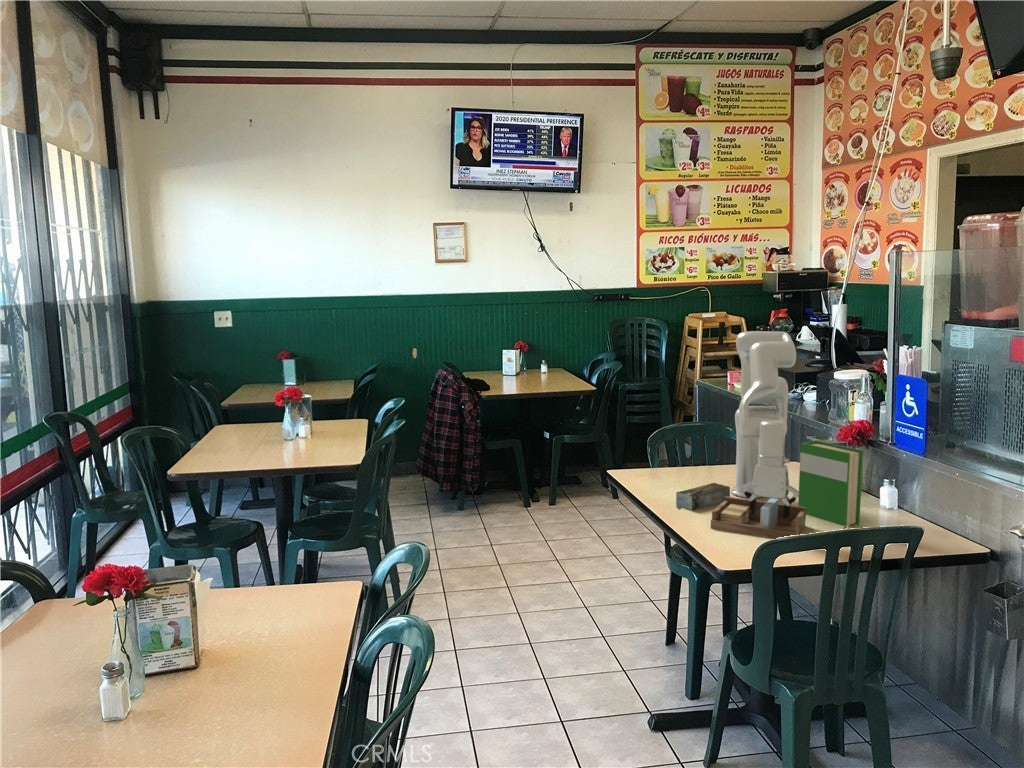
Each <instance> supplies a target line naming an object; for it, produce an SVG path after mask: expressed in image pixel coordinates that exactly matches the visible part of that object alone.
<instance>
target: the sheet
mask: <svg viewBox="0 0 1024 768" xmlns="http://www.w3.org/2000/svg"><path fill="white" fill-rule="evenodd" d="M765 502H766V503H765V504H764V505H763V506H762V507H761V517H760V527H767V528H774V527H775V526H776V525H777V521H778V503H779V499H774V498H769V499H768V500H767V501H765Z"/></svg>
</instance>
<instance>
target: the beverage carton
mask: <svg viewBox="0 0 1024 768" xmlns="http://www.w3.org/2000/svg"><path fill="white" fill-rule="evenodd" d="M675 495H676V498H675V507H676V509H677V508H678V509H677V510H682V509H683V508H684V509H686V510H689V511H695V510H701V509H703V508H704V509H705V508H708V507H709V508H710V507H712V506H716V505H717V506H718V505H720V504H721V503H722V502H723V501H725V497H726V496H727V497H731V487H730V486H727V485H724V484H720V483H716V482H711V483H708V484H704V485H701V486H697V487H694V488H693V487H692V488H688V489H684V490H680V491H676V493H675Z"/></svg>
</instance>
